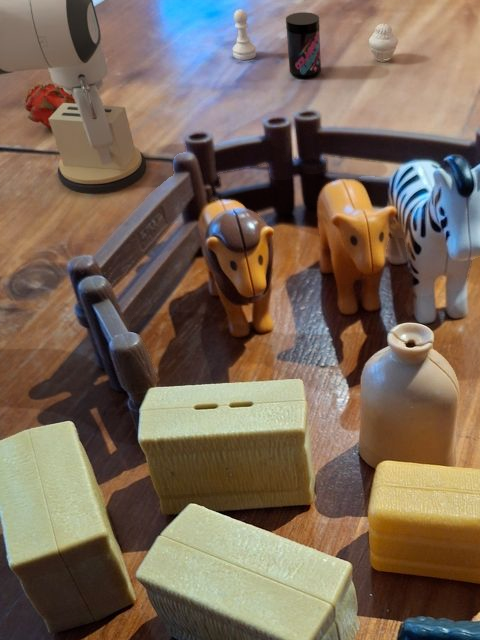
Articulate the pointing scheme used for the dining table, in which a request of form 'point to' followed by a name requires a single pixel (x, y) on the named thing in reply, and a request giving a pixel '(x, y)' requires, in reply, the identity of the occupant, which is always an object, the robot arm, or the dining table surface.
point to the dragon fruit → (45, 102)
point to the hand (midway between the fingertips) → (101, 150)
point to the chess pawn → (242, 38)
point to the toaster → (82, 158)
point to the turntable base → (105, 186)
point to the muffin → (383, 42)
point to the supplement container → (303, 44)
